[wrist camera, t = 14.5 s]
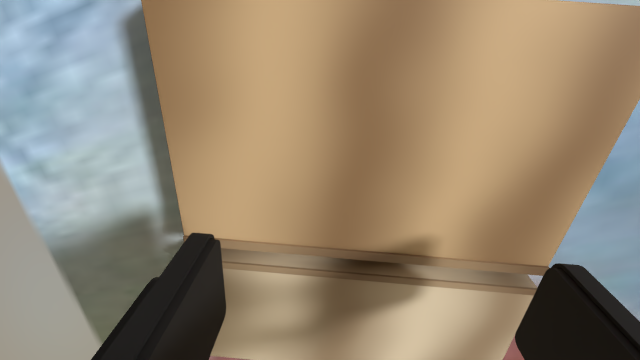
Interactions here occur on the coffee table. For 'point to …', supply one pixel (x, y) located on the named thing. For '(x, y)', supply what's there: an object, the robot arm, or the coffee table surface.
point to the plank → (392, 123)
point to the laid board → (365, 309)
